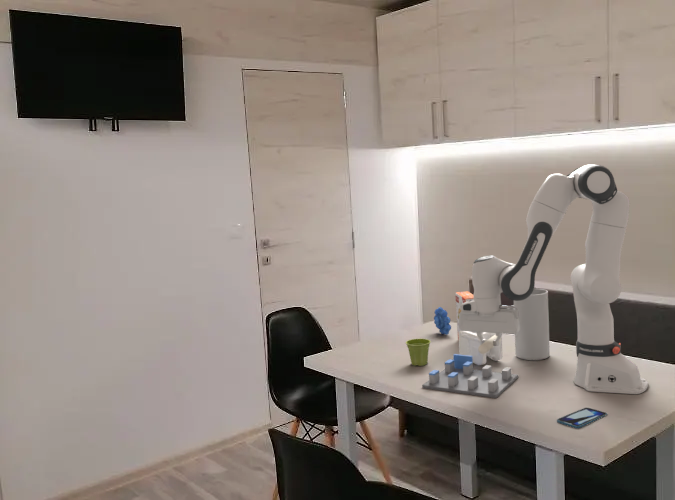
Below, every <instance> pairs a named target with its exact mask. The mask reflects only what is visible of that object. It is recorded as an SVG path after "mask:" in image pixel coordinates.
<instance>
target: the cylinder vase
mask: <svg viewBox="0 0 675 500" xmlns="http://www.w3.org/2000/svg"><path fill="white" fill-rule="evenodd" d="M513 306H514V307H515V308H517V309H518V312H519V317H518V320H519V326H520V330H519V331H518V332H517V333H516V334H514V347H515V349H514V350H515V357H516V358H519V359H521V360H525V361H541V360H544V359H547V358H549V357H550V321H549V319H550V318H549V291H548V290H547V289H543V288H534V290H533V292H532V294H531V295H530V296H529V297H528V298H526V299H524V300H521V301H514V300H513ZM515 308H514V309H515Z"/></svg>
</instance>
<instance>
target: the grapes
mask: <svg viewBox="0 0 675 500" xmlns="http://www.w3.org/2000/svg"><path fill="white" fill-rule="evenodd" d="M433 320H434V321H433V323H434V324H435V327H436V329H438V330H439V331H438V332H439V333H440V334H442V335H446V336H448V335H449V334H450V331H451V329H452V325H451V324H450V323H451V318H450V317H449V316H448V312H447V310H445V309H444V308H443V307H441V306H439V307H438V308H436V309H435V310H434V317H433Z"/></svg>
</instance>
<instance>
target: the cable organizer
mask: <svg viewBox="0 0 675 500" xmlns="http://www.w3.org/2000/svg"><path fill="white" fill-rule="evenodd" d="M494 335H496V333H486V332H483V334H482V336H483V338H484V339H486V341H487V340H488V339H490V338H491V337H492V336H494ZM458 336H459V340H458V351H459V353H458V354H459V355H469V356H473V364H475V365H477V366H482V365H485V364H486V363H487V358H489V359H491V360H493V361H494V362H498V361H501V360H502V359H503V335H502V336H501V341H500V342H499V346H494V347H493V348H492V349H490V350H489V351H488V352H486V353H485V354H481V353H480V352H479V351H478V347H479V346H480V345H481V342H480V339H479V338H478V336H477V332H476V333H472V332H469V331H459V333H458V332H457V337H458ZM486 365H487V364H486Z"/></svg>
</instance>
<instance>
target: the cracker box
mask: <svg viewBox="0 0 675 500" xmlns="http://www.w3.org/2000/svg"><path fill="white" fill-rule="evenodd" d="M473 294H474V293H473ZM473 294H472V293H471V292H470V291H456V292H455V293H454V295H455V309H456V310H455V311H456V329H457V334H458V333H459V331H461V330H460V328H459V314H460V312H461V310H460V305H461V304H463V303H464V302H467V301H469V300H472V299H474V298H473ZM469 332H471V331H469ZM472 333H476V332H472ZM457 340H458V341H459V336H458V335H457Z"/></svg>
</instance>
